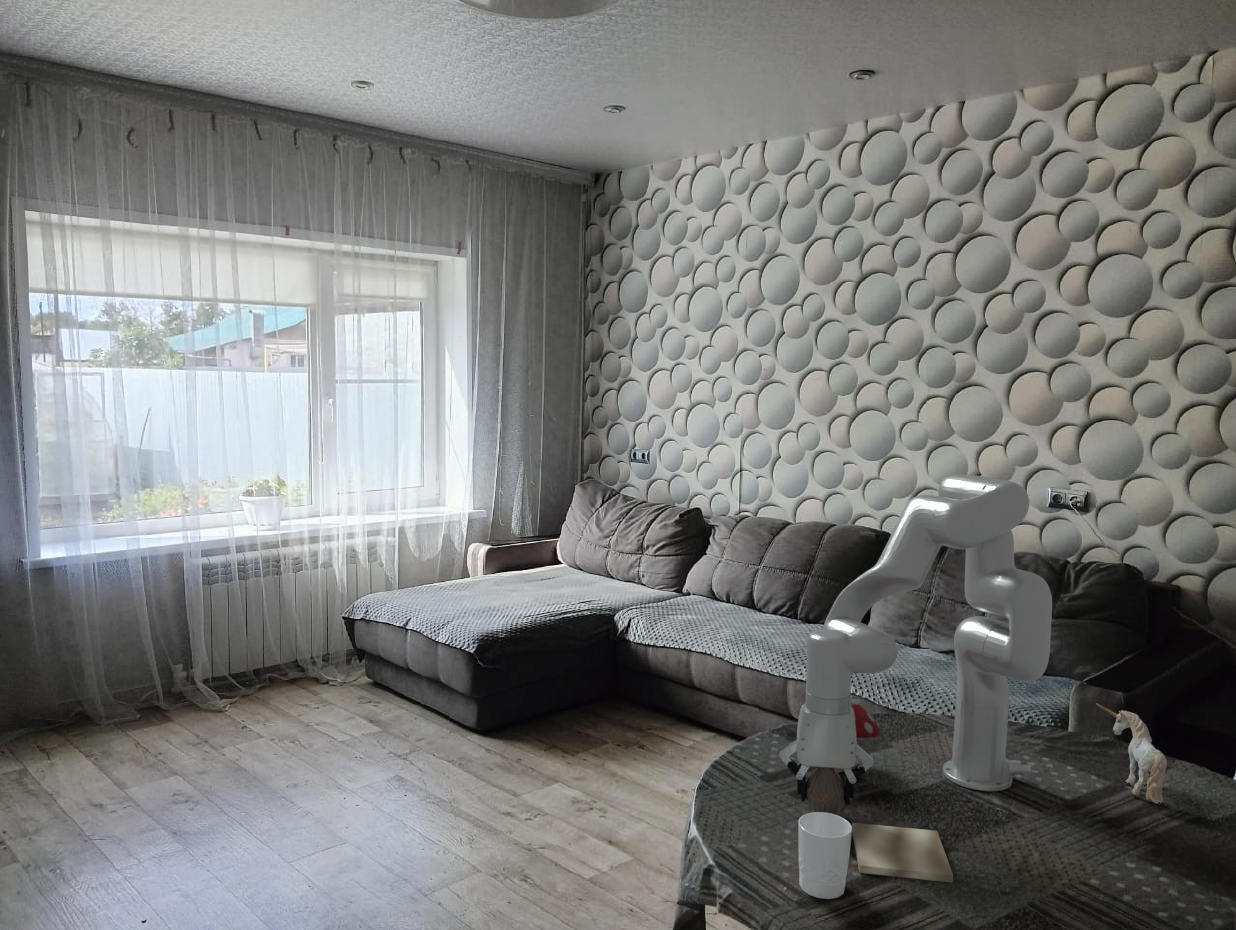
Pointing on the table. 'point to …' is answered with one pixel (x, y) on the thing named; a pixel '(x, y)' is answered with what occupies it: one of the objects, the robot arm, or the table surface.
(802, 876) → the white cup
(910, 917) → the table surface
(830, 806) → the vase
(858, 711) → the decorative mushroom
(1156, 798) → the unicorn figurine
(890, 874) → the birch pad
